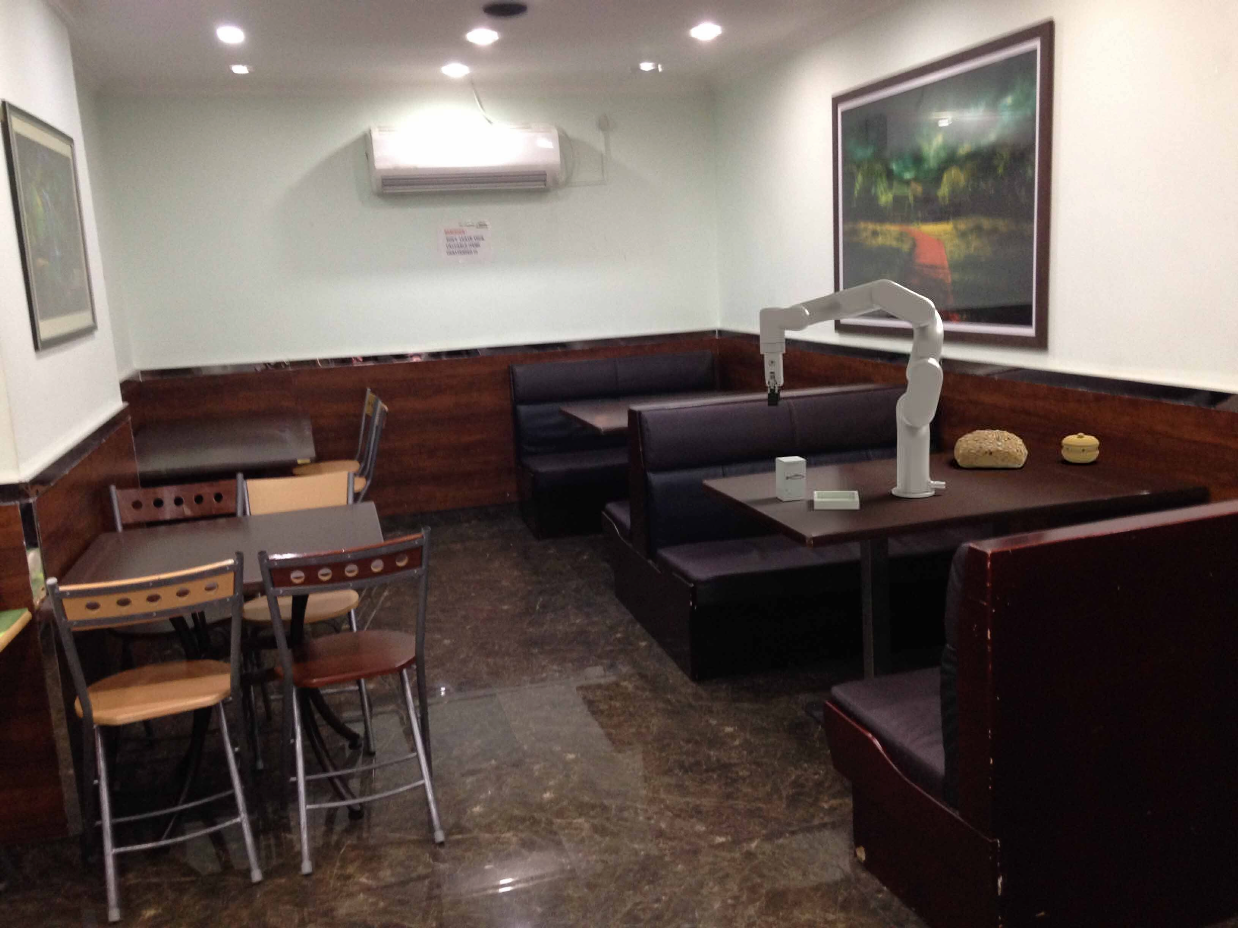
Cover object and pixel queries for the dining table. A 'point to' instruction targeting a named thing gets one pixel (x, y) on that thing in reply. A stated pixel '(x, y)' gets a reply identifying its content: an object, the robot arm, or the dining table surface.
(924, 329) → the robot arm
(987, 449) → the bread
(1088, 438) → the pot
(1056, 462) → the dining table surface
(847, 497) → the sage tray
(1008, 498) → the dining table surface
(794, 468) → the supplement box
